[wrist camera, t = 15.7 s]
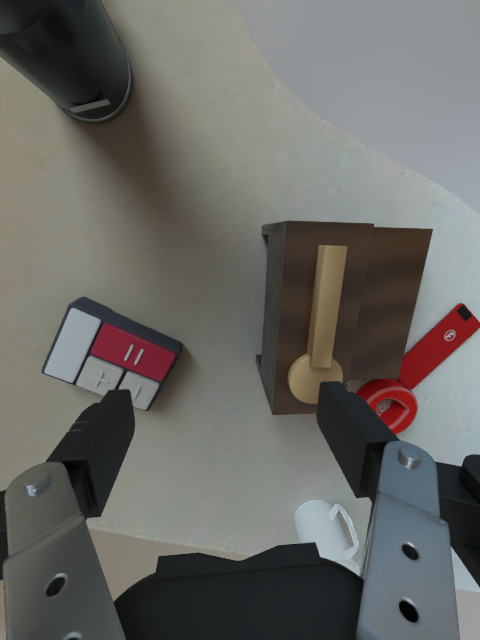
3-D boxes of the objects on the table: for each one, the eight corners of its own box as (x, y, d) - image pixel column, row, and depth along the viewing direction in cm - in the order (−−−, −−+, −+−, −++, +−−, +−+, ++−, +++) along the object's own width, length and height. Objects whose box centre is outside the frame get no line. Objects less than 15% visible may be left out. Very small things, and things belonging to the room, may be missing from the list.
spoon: (285, 399, 29) (289, 408, 27) (298, 244, 24) (304, 245, 22) (335, 397, 29) (341, 406, 28) (358, 246, 24) (368, 246, 23)
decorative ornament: (413, 407, 47) (426, 419, 44) (365, 434, 48) (375, 448, 45) (393, 367, 44) (406, 377, 41) (342, 397, 45) (351, 408, 42)
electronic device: (408, 389, 46) (479, 324, 43) (410, 391, 45) (482, 325, 42) (387, 370, 44) (460, 302, 41) (389, 372, 44) (463, 302, 41)
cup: (351, 491, 52) (382, 548, 42) (320, 533, 55) (343, 596, 45) (316, 480, 50) (339, 537, 41) (286, 524, 53) (301, 587, 44)
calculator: (147, 415, 39) (36, 376, 34) (152, 398, 43) (53, 360, 39) (181, 354, 36) (66, 303, 32) (183, 341, 40) (81, 295, 36)
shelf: (262, 225, 36) (287, 220, 23) (400, 229, 37) (491, 227, 25) (255, 361, 42) (272, 415, 29) (374, 359, 43) (437, 409, 31)
